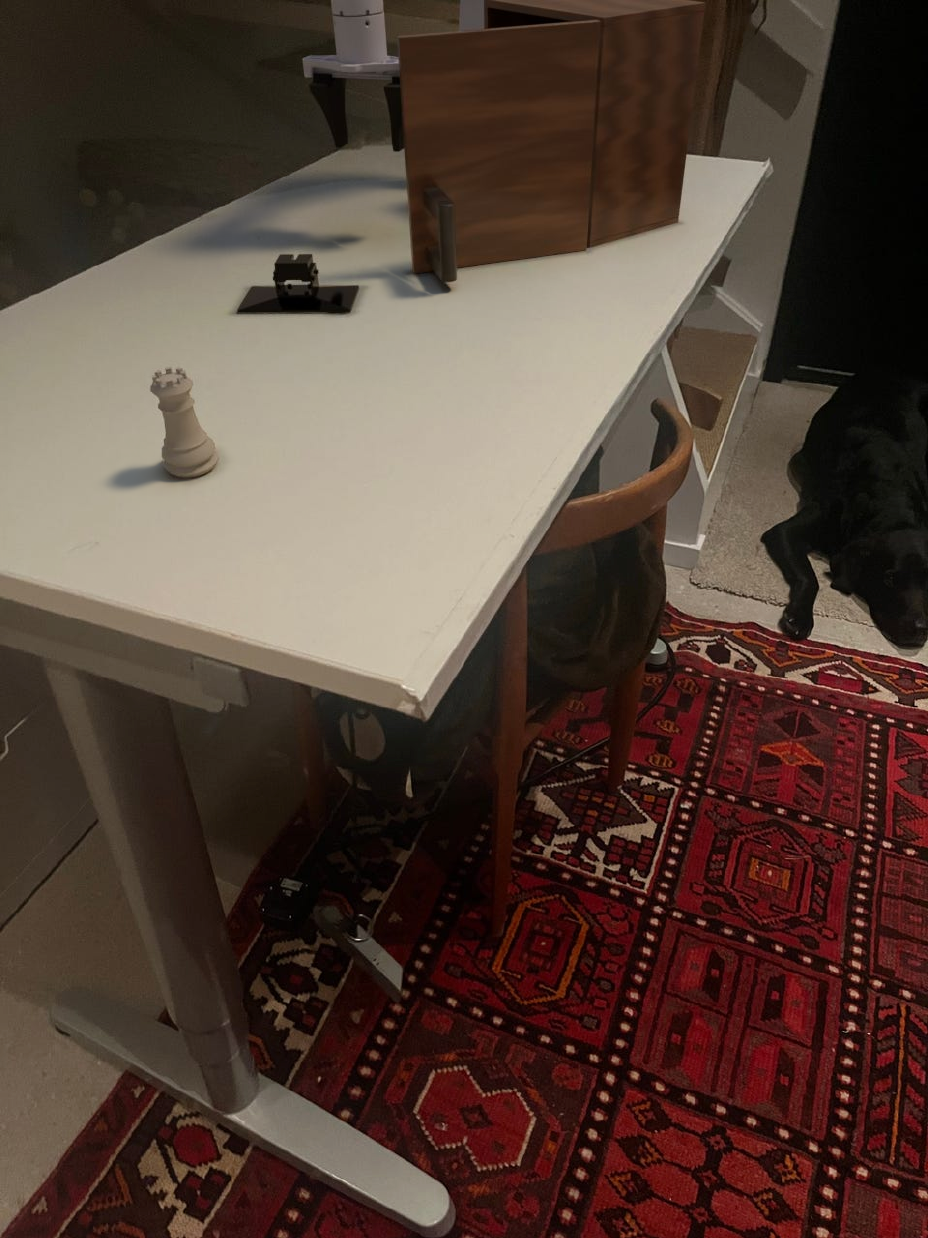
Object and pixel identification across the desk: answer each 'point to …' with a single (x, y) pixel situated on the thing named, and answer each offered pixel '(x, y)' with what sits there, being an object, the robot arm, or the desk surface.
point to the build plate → (298, 291)
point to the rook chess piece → (182, 426)
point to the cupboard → (630, 103)
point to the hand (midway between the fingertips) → (370, 147)
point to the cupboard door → (498, 142)
